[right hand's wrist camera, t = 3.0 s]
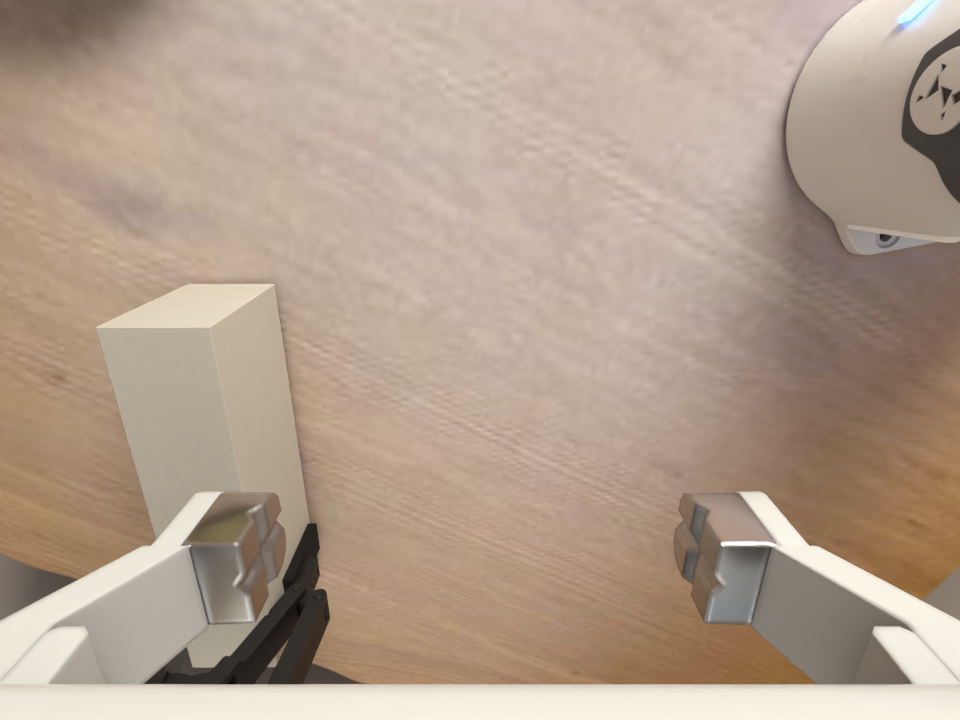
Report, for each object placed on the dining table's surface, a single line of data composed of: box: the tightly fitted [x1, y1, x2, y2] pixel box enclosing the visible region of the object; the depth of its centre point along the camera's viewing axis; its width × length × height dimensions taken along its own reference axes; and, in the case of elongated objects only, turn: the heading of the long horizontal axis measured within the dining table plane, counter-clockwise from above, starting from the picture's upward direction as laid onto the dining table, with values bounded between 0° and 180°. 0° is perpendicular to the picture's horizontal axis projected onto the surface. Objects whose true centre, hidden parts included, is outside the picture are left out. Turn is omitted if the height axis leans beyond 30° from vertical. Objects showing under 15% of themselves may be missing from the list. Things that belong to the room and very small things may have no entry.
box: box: [95, 284, 310, 668], centre depth 39 cm, size 27×6×10 cm, turn 0°
